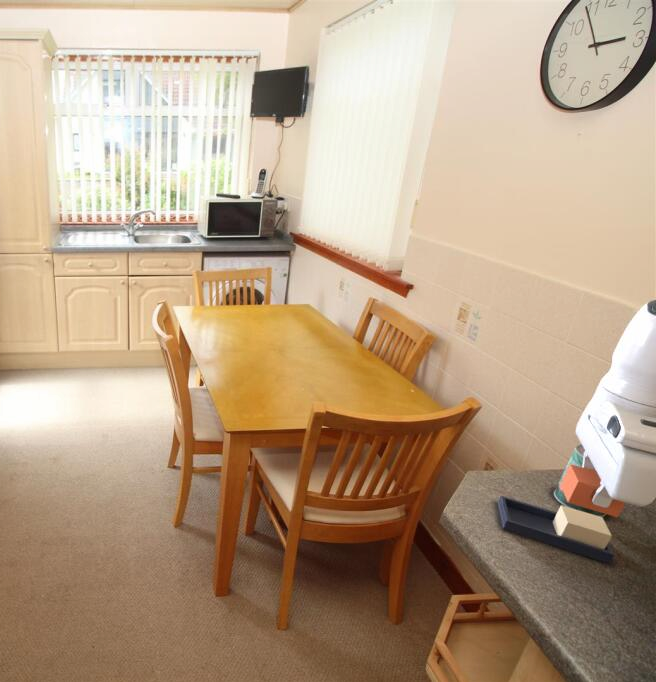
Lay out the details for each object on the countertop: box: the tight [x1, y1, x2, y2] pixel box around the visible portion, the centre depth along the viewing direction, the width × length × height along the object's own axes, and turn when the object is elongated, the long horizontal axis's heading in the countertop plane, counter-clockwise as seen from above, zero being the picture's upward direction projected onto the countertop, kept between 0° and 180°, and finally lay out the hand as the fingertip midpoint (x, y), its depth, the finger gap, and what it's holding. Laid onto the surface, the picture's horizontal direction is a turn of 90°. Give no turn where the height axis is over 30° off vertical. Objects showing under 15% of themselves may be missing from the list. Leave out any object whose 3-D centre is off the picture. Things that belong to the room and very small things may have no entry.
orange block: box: [561, 464, 626, 518], centre depth 72 cm, size 6×5×4 cm
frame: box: [497, 495, 615, 565], centre depth 84 cm, size 15×8×2 cm, turn 61°
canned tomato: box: [553, 443, 607, 518], centre depth 90 cm, size 8×8×11 cm
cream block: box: [553, 504, 613, 549], centre depth 82 cm, size 6×5×4 cm
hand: (592, 491), depth 72 cm, fingers closed on orange block, 5 cm apart
